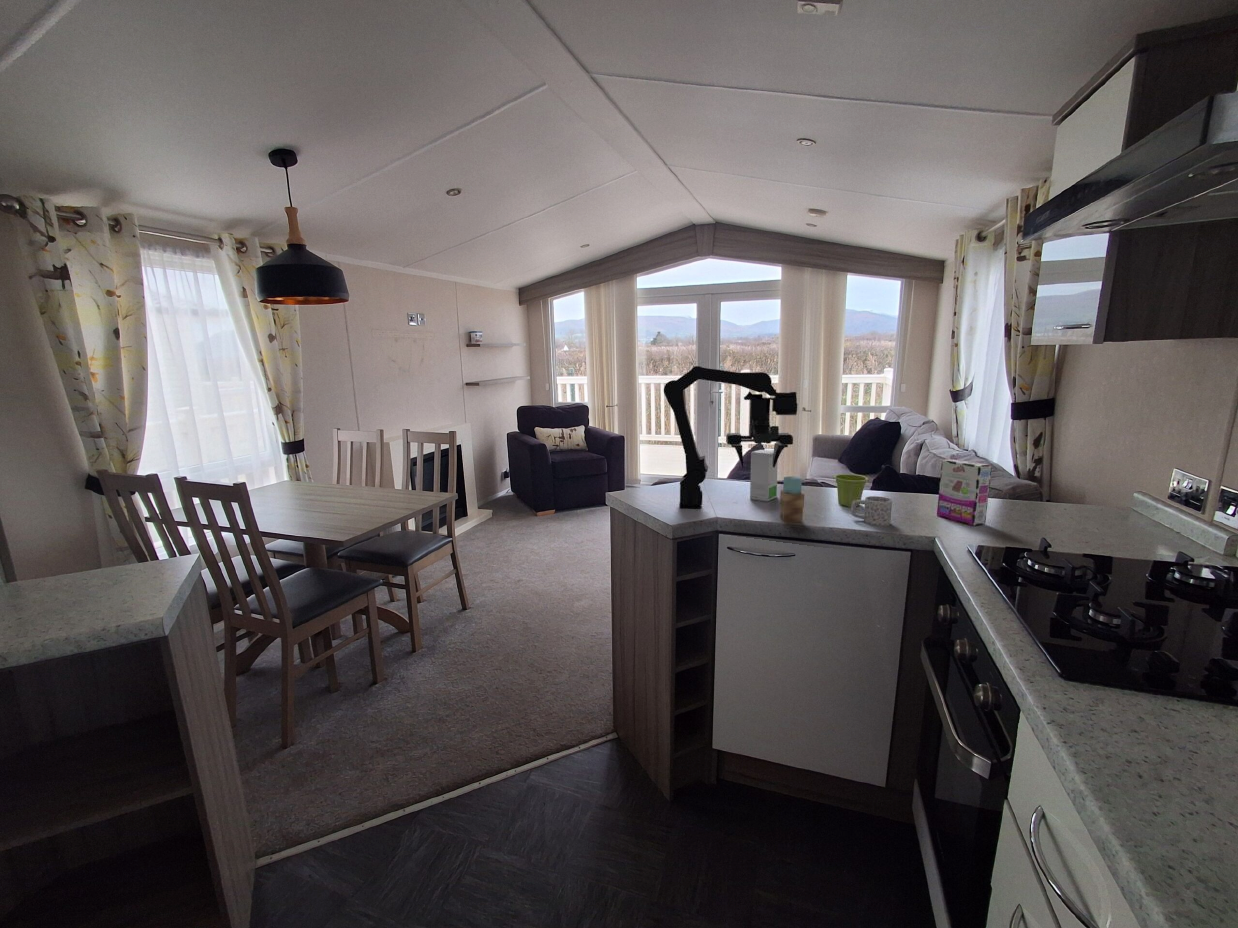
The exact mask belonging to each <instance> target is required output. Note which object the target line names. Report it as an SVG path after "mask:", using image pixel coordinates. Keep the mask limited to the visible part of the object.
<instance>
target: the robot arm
mask: <svg viewBox="0 0 1238 928" xmlns="http://www.w3.org/2000/svg"><path fill="white" fill-rule="evenodd" d="M699 380H702V381H709V382H716V383H722V384H729V385H736V386H740V387H741V388H745V389H747V390H751V391H753V392H757V393H752V392H751V391H748V393H747V394H746V395H745V396H743V400H745V401H749V429H748V432H749V433H748V435H742V434H741V432H728V433H726V436H725V442H726V444H727V445H730V446H731V448H734V449H735V451H736V454H737V457H738V459H739V463H740V466H741V468H744V455H743V445H742V443H744V442H745V443H750V442H751V443H753V442H754V444H767V445H769V444H771V443H773V442H774V446H773V450H774V453H773V468H774V467H775V465H776V463H777V460H778V461H779V459H780V456H781V453H782V452H783V450H784V449H785V448H789V445H793V444H794V436H793V435H792V434H790V433H789V432H780V429H779V425H772V426H771V424H770V423H771V419H770V417H771V412H773V413H775V415H776V416H797V413H798V402H797V401H798V400H797V399H798V398H797V392H796V391H789V392H787V391H786V392H783V391H782V392H777V390H776V389H775V387H774V386H773V385H772V383H773V381H772V378H771V376H770V374H768V373H767V372H763V371H749V372H748V371H747V372H738V371H731V370H723V369H717V368H710V367H703V366H701V365H695V366H693V367H692V368H691V369H690V370H689V371H688V372H686V373H685V374H683V375H681V376H680V377H679V378H678V379H672V380H670V381H667V382H666V384H665V385H664V388H663V394H664V397H665V398H666V400H667V402H668V405H669V406H670V408H671V410H672V412H673V414H674V418H675V422H676V426H677V428H678V432H679V436H680V441H681V443H682V448H683V451H684V455H685V470H686V473H685V474H684V475H683V476H682V477H681V479H680V481H679V508H680V509H701V508H702V505H703V490H702V489H701V485H700V484H702V483H703V482H704V481H705V479H706V477H707V472H708V470H709V466H708V465H707V462H706V455H702V456H701V454H699V451H698V448H697V444H696V441H695V436H694V434H693V429H692V426H691V422H690V418H689V415H688V411H687V403H686V402H687V401H686V399H687V398H686V389H687V388H689V387H690V386H691V385H693V384H694V383H696V382H697V381H699ZM763 393H765V394H767V395H768V396H769V397H766V396H765V397H763V396H764V395H763Z"/></svg>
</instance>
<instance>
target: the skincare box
mask: <svg viewBox="0 0 1238 928" xmlns="http://www.w3.org/2000/svg"><path fill="white" fill-rule="evenodd" d="M773 453H774V449H773V450H769V449H758V450H754V451H752V452H750V485H749V487H750V488H749V500H755V501H760V502H769V501H772V500H773V499H776V498H777V497H778V496H777V495H778V469H779V468H778V467H779V463H778V462H779V459H778V460H777V463H776V465H775V467H774V468H773Z"/></svg>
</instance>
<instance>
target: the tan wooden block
mask: <svg viewBox="0 0 1238 928" xmlns="http://www.w3.org/2000/svg"><path fill="white" fill-rule="evenodd" d="M779 497H780V499H779V504H780V506H781V505H782V506H783V507H784V508H786V509H790V508H803V509H804V508H805V493H803V492H802V491H801V493H800V494H786V493H784V492H783V489H781V490H780V496H779Z"/></svg>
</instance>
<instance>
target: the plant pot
mask: <svg viewBox="0 0 1238 928" xmlns="http://www.w3.org/2000/svg"><path fill="white" fill-rule="evenodd" d="M834 478H835V483H836V488H837V503H838V505H840V506H845V507H848V508H849V507H850V508H851V506H852V502H853V501H855V500H862V496H863V492H864V488H865V486H866V483H867V481H868V480H869V479H868V477H866V476H863V475H859V474H850V473H849V474H848V473H844V474H842V473H841V474H836V475H834ZM859 506H861V504H856V506H855V508H856V507H859Z"/></svg>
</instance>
